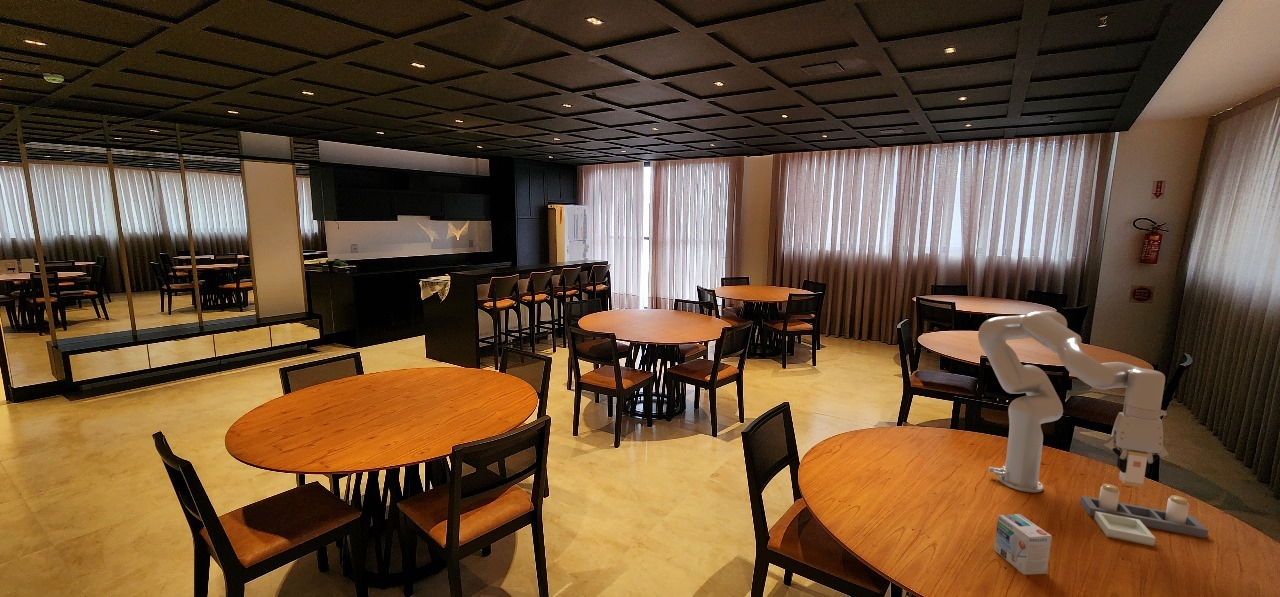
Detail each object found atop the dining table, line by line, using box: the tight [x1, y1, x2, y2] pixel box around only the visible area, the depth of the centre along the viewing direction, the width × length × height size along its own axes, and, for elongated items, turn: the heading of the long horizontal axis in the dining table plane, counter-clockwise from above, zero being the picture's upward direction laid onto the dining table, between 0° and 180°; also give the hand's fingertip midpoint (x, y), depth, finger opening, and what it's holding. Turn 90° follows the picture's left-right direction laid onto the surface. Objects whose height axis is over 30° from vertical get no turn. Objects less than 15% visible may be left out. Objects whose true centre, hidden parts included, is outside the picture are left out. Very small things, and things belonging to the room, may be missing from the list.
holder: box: [1079, 495, 1209, 539], centre depth 160 cm, size 27×8×2 cm, turn 65°
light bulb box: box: [993, 513, 1053, 576], centre depth 138 cm, size 11×7×11 cm, turn 5°
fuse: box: [1118, 450, 1148, 488], centre depth 150 cm, size 4×4×10 cm
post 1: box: [1098, 483, 1120, 512], centre depth 163 cm, size 4×4×9 cm
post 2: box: [1165, 494, 1190, 524], centre depth 156 cm, size 4×4×9 cm
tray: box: [1093, 511, 1156, 547], centre depth 153 cm, size 10×10×2 cm
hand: (1132, 471), depth 151 cm, fingers closed on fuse, 4 cm apart
